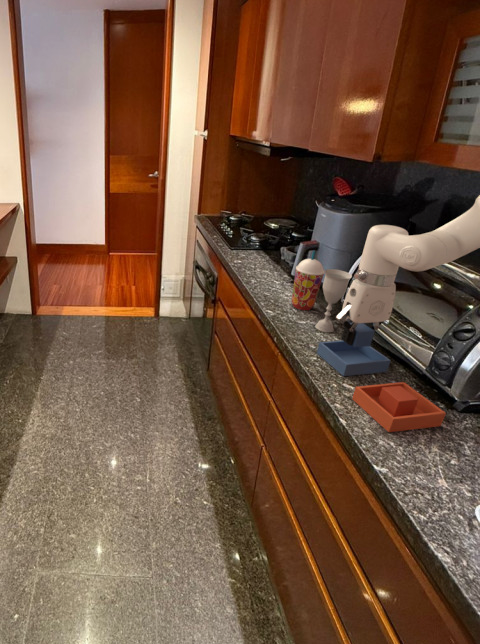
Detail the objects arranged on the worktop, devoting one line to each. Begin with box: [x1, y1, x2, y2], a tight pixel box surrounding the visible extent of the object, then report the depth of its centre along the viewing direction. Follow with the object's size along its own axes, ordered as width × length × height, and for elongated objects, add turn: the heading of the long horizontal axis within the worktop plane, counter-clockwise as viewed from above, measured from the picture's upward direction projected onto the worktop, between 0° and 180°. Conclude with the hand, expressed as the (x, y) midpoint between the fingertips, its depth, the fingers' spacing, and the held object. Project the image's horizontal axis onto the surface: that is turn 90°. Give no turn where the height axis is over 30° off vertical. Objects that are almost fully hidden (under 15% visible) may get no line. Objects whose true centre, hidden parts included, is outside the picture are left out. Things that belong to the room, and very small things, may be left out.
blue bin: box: [316, 339, 391, 377], centre depth 101 cm, size 12×10×4 cm
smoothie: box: [291, 250, 325, 311], centre depth 127 cm, size 8×8×20 cm
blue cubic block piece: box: [350, 322, 376, 348], centre depth 99 cm, size 4×4×4 cm
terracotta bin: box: [351, 381, 447, 433], centre depth 84 cm, size 12×10×4 cm
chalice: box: [314, 268, 353, 333], centre depth 115 cm, size 7×7×18 cm
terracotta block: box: [377, 386, 418, 417], centre depth 84 cm, size 4×4×4 cm
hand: (356, 340), depth 100 cm, fingers closed on blue cubic block piece, 4 cm apart
